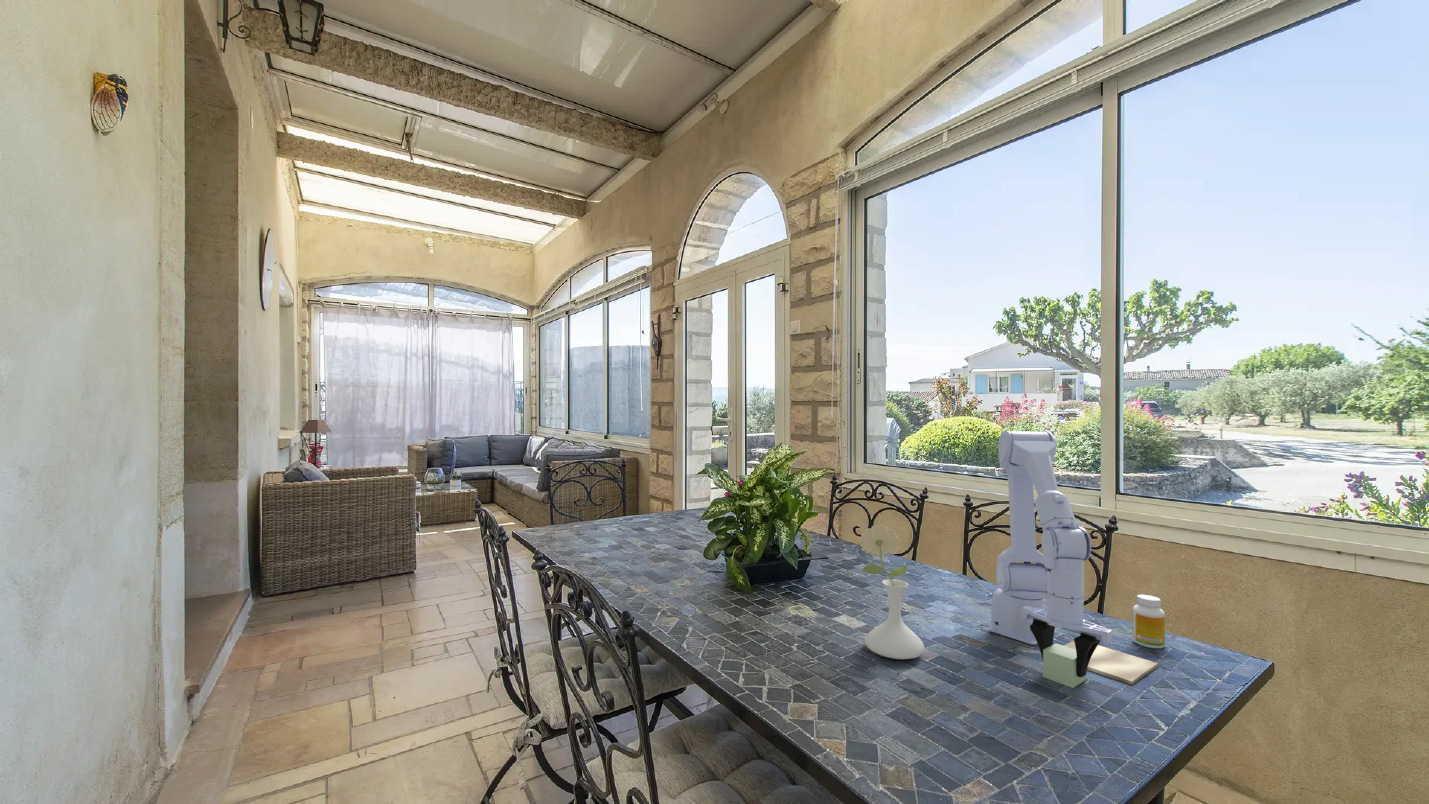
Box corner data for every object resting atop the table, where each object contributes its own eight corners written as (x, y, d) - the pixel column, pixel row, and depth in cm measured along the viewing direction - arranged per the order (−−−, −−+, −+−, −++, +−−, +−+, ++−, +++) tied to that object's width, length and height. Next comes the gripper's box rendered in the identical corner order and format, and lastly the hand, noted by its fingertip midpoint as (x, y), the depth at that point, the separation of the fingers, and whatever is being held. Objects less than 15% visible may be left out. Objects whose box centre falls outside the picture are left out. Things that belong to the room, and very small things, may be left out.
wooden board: (1048, 656, 113) (1048, 653, 113) (1077, 641, 121) (1077, 638, 121) (1131, 684, 102) (1131, 681, 102) (1157, 666, 110) (1157, 663, 110)
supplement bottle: (1170, 650, 117) (1170, 602, 117) (1140, 647, 118) (1141, 600, 118) (1155, 640, 122) (1156, 594, 123) (1127, 637, 123) (1127, 592, 124)
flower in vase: (927, 647, 117) (928, 524, 117) (921, 670, 106) (923, 535, 107) (861, 635, 122) (863, 518, 122) (850, 656, 112) (852, 527, 112)
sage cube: (1043, 677, 104) (1043, 649, 105) (1055, 670, 107) (1055, 643, 107) (1073, 688, 100) (1073, 659, 100) (1085, 680, 103) (1085, 652, 103)
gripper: (1013, 587, 108) (1012, 660, 107) (1101, 610, 96) (1100, 691, 96) (1031, 581, 112) (1031, 651, 112) (1117, 602, 100) (1117, 680, 100)
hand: (1064, 669), depth 104 cm, fingers closed on sage cube, 5 cm apart
